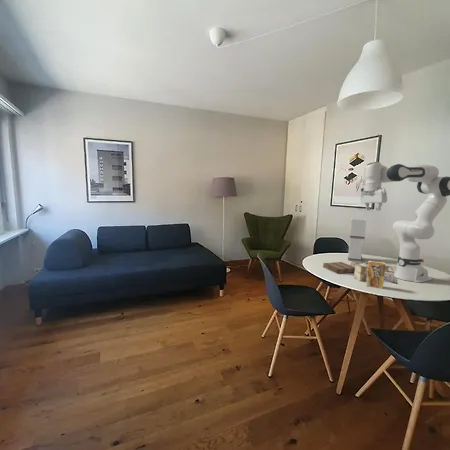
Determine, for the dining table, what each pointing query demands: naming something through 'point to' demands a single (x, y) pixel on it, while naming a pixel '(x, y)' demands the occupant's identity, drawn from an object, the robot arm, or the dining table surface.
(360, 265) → the birch block
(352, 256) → the display case
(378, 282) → the candy box
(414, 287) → the dining table surface
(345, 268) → the walnut plinth
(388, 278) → the dining table surface
